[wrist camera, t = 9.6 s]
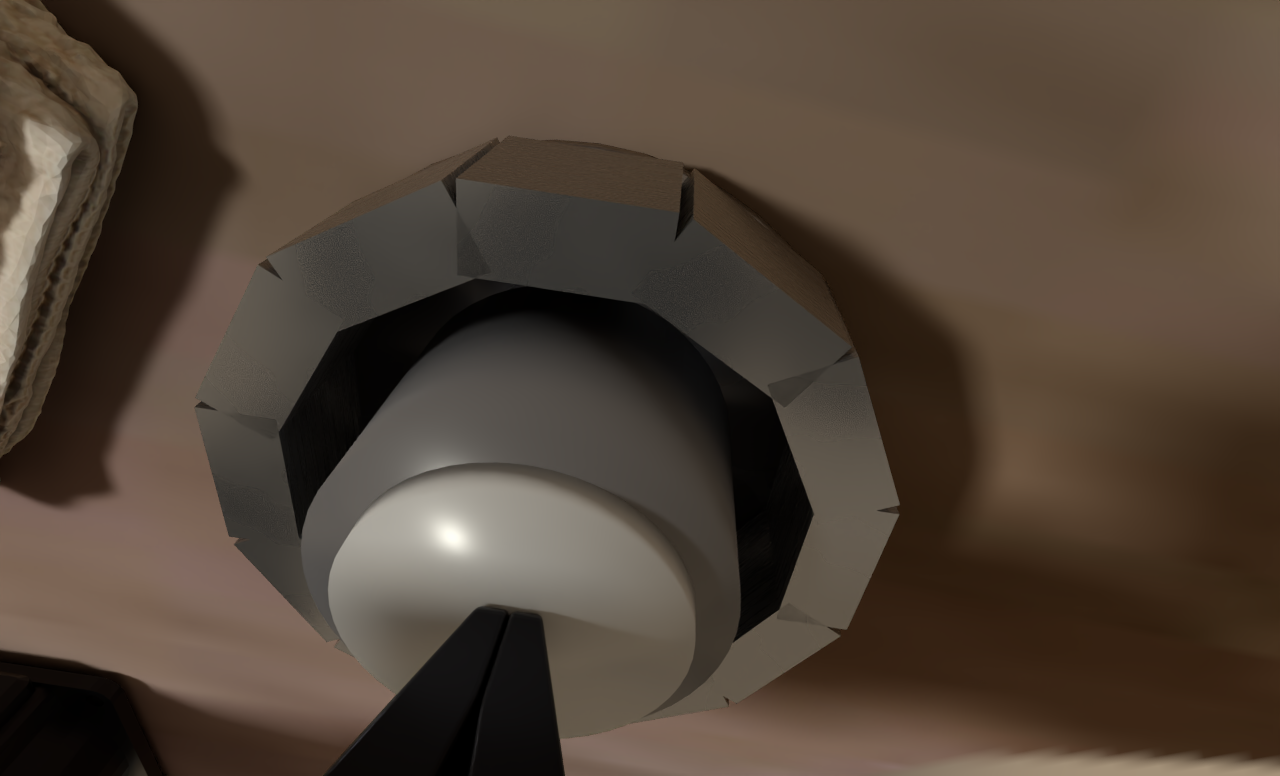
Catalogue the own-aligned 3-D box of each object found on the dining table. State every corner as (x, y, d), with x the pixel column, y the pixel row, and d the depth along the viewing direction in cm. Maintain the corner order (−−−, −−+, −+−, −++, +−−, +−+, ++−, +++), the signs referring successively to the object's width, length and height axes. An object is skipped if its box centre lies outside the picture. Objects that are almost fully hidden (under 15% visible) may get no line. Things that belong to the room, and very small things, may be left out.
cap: (698, 567, 14) (698, 786, 10) (418, 526, 14) (314, 730, 10) (761, 312, 11) (795, 490, 7) (400, 259, 11) (239, 409, 7)
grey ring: (774, 635, 16) (788, 757, 13) (335, 569, 16) (267, 679, 13) (935, 195, 10) (1012, 264, 8) (261, 91, 10) (119, 126, 8)
